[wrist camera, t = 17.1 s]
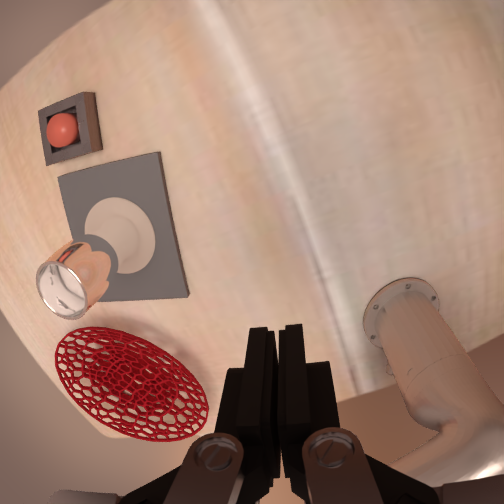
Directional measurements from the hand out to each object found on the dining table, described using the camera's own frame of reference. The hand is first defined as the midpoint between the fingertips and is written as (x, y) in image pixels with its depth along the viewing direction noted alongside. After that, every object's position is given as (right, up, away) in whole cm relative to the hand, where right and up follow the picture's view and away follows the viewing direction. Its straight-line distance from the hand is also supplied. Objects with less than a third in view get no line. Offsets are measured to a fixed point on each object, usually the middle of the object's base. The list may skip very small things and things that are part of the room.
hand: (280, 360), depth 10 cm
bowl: (-23, -19, +43) cm, 52 cm away
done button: (-25, +20, +25) cm, 40 cm away
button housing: (-25, +20, +26) cm, 41 cm away
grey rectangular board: (-19, +6, +31) cm, 37 cm away
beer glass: (-19, +6, +30) cm, 36 cm away
